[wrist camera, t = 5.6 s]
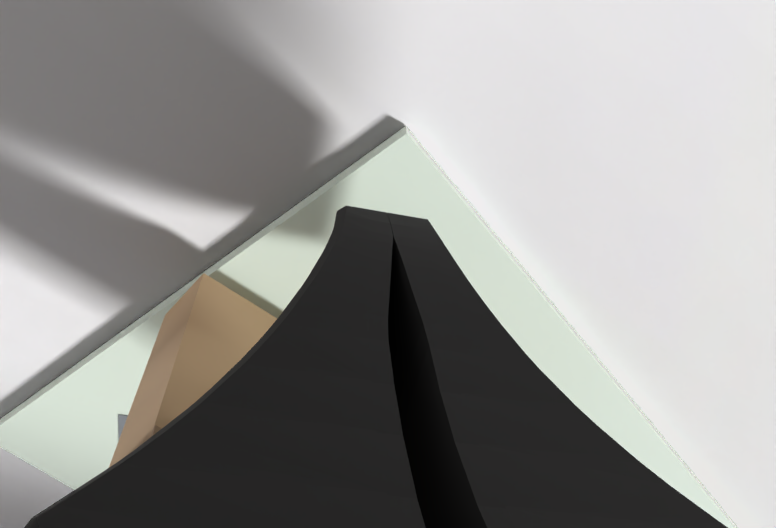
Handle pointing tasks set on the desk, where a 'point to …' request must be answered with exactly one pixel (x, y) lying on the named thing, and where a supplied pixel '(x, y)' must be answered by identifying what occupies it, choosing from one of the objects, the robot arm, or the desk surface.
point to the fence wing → (191, 356)
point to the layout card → (281, 283)
